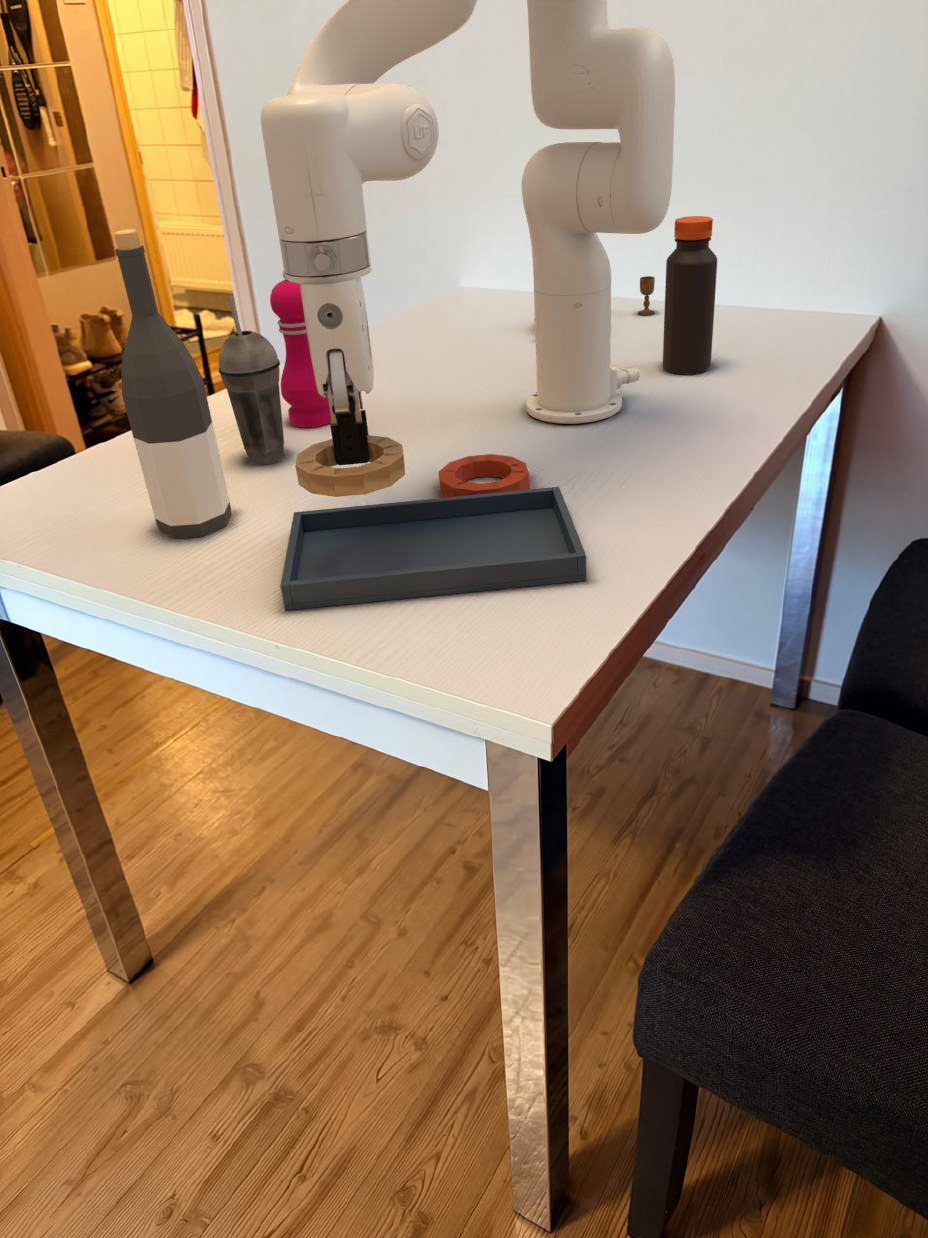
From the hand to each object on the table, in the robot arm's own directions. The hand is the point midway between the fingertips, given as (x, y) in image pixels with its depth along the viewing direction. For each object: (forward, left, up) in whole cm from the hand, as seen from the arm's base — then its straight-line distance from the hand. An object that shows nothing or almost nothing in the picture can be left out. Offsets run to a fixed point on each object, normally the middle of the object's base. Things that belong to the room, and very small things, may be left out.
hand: (353, 455), depth 92 cm
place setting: (-65, -49, -10) cm, 82 cm away
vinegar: (-61, -22, -10) cm, 66 cm away
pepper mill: (-10, -39, -10) cm, 41 cm away
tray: (-4, +6, -10) cm, 12 cm away
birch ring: (+2, +3, 0) cm, 4 cm away
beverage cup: (0, -30, -10) cm, 31 cm away
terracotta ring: (-17, -4, -10) cm, 20 cm away
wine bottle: (+13, -17, -10) cm, 23 cm away
